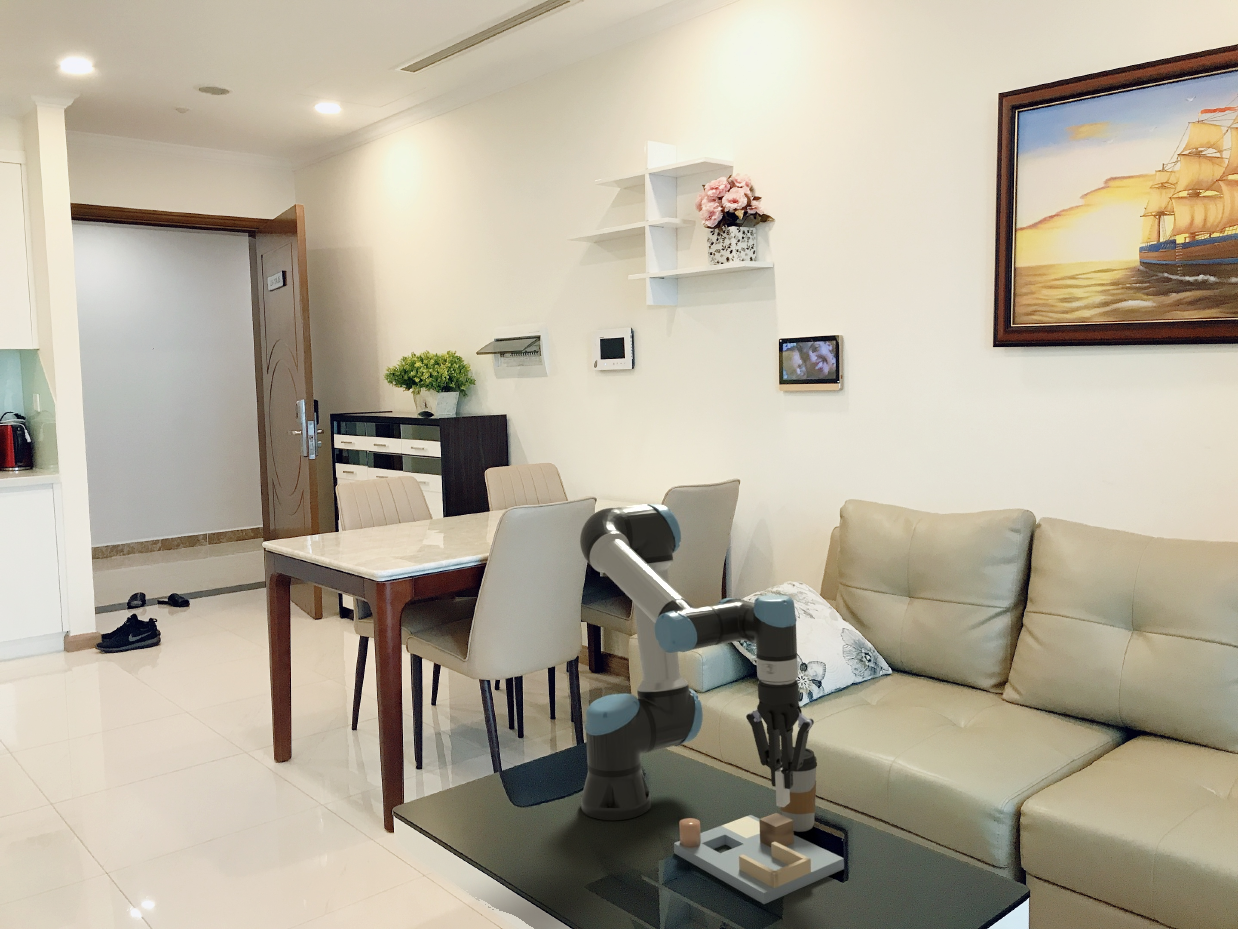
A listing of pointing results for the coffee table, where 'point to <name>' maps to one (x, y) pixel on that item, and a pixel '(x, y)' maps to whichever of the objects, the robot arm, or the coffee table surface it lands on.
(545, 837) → the coffee table surface
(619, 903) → the coffee table surface
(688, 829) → the beige cylinder
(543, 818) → the coffee table surface
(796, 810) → the coffee cup
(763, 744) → the robot arm
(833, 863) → the board
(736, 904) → the coffee table surface
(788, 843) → the walnut cube
